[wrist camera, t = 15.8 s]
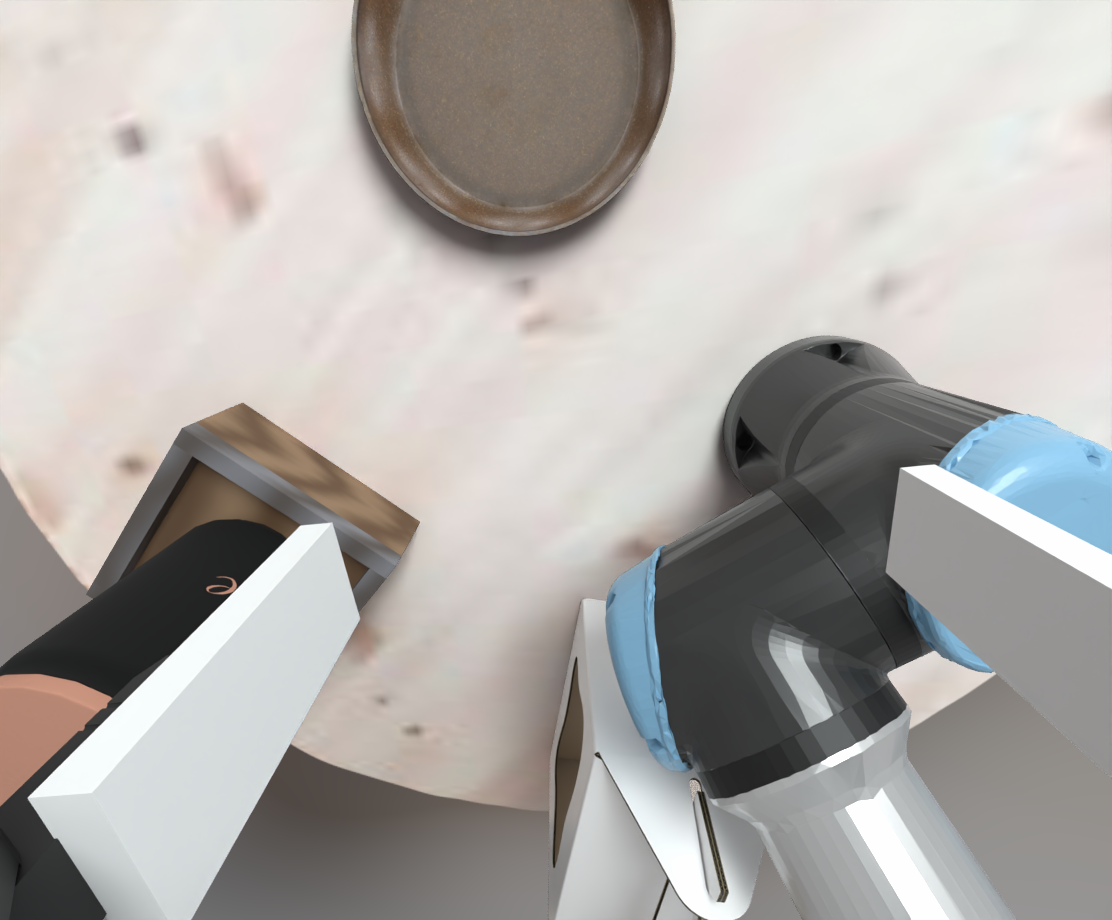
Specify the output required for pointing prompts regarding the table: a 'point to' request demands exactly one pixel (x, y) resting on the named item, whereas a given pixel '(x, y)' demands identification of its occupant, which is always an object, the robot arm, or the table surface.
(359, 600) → the square wooden box
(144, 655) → the coffee jar
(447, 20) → the plant saucer
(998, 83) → the table surface
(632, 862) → the gable box
